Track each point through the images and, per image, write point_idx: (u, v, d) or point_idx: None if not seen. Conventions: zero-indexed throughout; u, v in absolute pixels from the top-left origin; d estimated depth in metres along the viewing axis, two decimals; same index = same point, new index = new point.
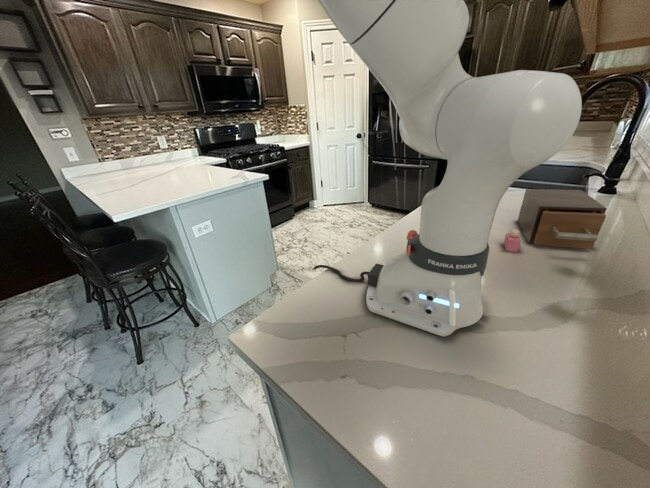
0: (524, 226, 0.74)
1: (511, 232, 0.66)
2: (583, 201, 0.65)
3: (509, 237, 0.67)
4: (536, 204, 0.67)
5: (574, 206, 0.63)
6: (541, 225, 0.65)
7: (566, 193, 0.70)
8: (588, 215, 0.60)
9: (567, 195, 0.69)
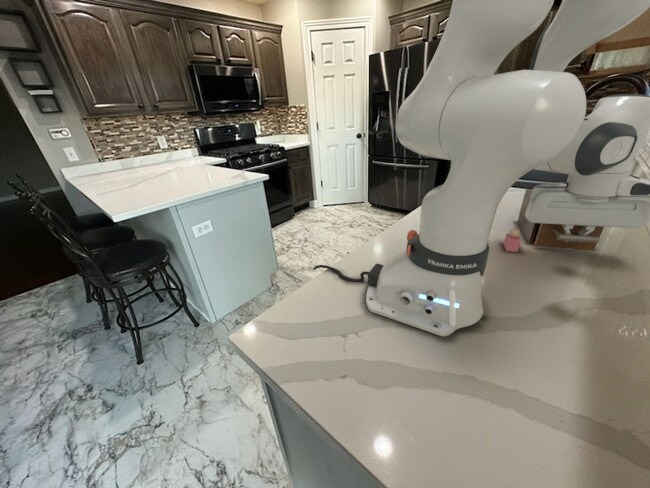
0: (524, 226, 0.74)
1: (511, 232, 0.66)
2: None
3: (509, 237, 0.67)
4: None
5: None
6: (542, 227, 0.64)
7: None
8: None
9: None
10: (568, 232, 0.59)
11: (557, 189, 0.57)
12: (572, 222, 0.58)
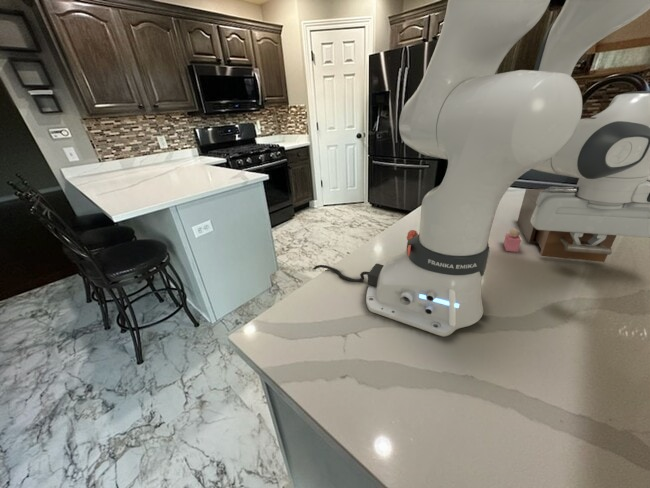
0: (524, 226, 0.74)
1: (511, 232, 0.66)
2: None
3: (509, 237, 0.67)
4: (536, 204, 0.67)
5: None
6: (549, 236, 0.60)
7: None
8: None
9: None
10: (577, 240, 0.55)
11: (566, 194, 0.53)
12: (582, 230, 0.53)
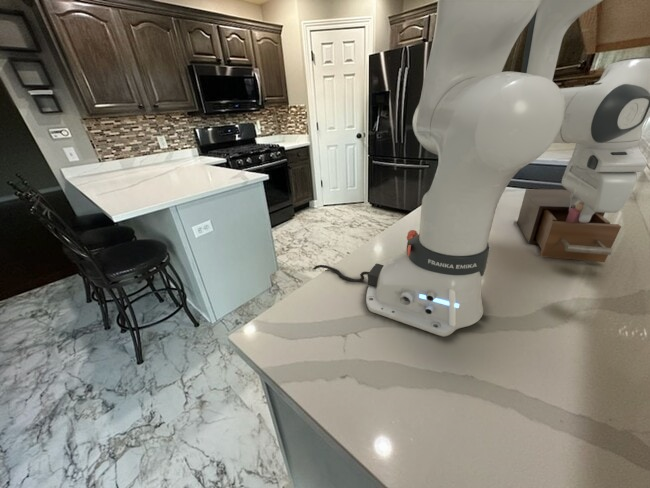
0: (524, 226, 0.74)
1: (579, 205, 0.58)
2: None
3: (576, 211, 0.59)
4: (536, 204, 0.67)
5: None
6: (549, 236, 0.60)
7: (566, 193, 0.70)
8: (601, 226, 0.55)
9: (567, 195, 0.69)
10: (570, 201, 0.61)
11: None
12: (572, 191, 0.59)
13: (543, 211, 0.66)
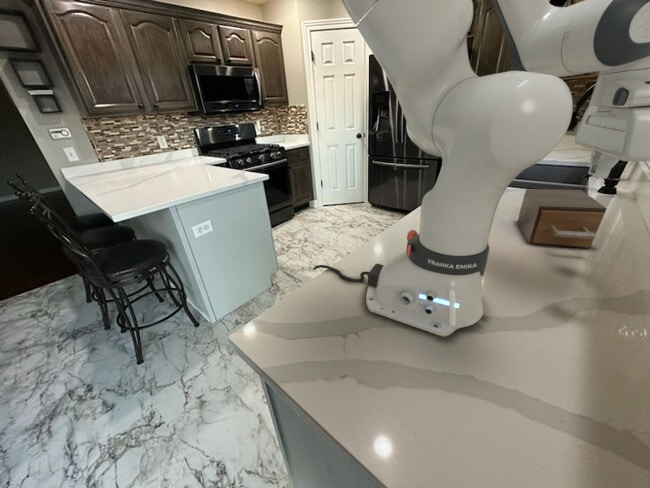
0: (524, 226, 0.74)
1: None
2: (583, 201, 0.65)
3: None
4: (536, 204, 0.67)
5: (574, 206, 0.63)
6: (540, 223, 0.66)
7: (566, 193, 0.70)
8: (586, 213, 0.61)
9: (567, 195, 0.69)
10: (591, 160, 0.49)
11: None
12: (590, 145, 0.48)
13: None
